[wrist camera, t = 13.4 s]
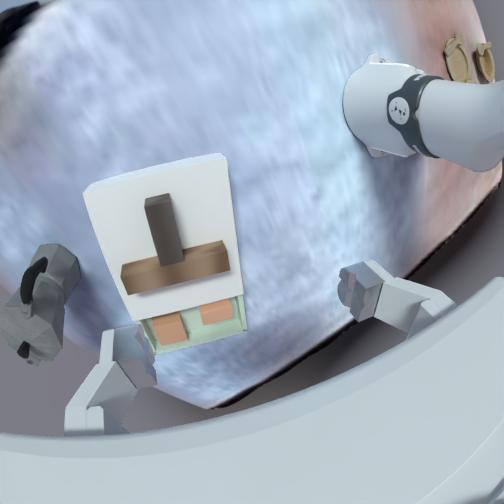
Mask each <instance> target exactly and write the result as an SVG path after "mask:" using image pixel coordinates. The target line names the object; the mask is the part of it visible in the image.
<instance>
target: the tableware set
mask: <svg viewBox="0 0 504 504" xmlns="http://www.w3.org/2000/svg"><path fill="white" fill-rule="evenodd" d="M463 42H464V39H462V35H461V33H460V32H458V33H457V34H456V35H455V38H451V39H449V40H448V41H447V44H446V48H445V49H444V53H445V57H446V64H447V68H448V71H449V73H450V76H451V78H452V80H453V81H456V82H464V83H474V84H476V82H475V81H474V80H471V77H472V67H471V62H470V58H469V55H468V52H467V50H466V48H465V47H464V45H463V44H462V43H463ZM491 47H492V45H491V42H487V43H485V44H484V43H481V44H480V43H478V44H477V51H476V63H477V66H478V69H479V71H480V72H481V73H482V74H483V76H484V78H485V79H486V80H487V81H488V82H492V81H493V79H494V76H495V66H494V60H493V57H492V54H491V52H490V50H489V48H491Z"/></svg>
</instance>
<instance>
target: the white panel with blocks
mask: <svg viewBox="0 0 504 504" xmlns="http://www.w3.org/2000/svg"><path fill="white" fill-rule="evenodd" d="M166 193H169V195H170V199H171V204H172V209H173V213H174V218H175V222H176V226H177V231H178V235H179V239H180V243H181V247H182V249H186V248H190V247H194V246H199V245H203V244H207V243H211V242H215V241H220V240H222V241H223V243H224V245H225V247H226V249H227V252H228V258H229V264H230V271H226V272H222V273H218V274H214V275H210V276H206V277H202V278H198V279H194V280H190V281H186V282H182V283H178V284H174V285H169V286H165V287H161V288H157V289H153V290H149V291H145V292H141V293H137V294H132V295H128V294H127V292H126V290H125V287H124V285H123V283H122V280H121V278H120V276H121V269H122V264H126V263H130V262H134V261H138V260H142V259H146V258H150V257H154V256H158V255H157V252H156V249H155V245H154V242H153V239H152V235H151V231H150V228H149V224H148V221H147V217H146V213H145V209H144V204H145V199H146V198H150V197H154V196H158V195H162V194H166ZM83 197H84V200H85V203H86V206H87V210H88V213H89V216H90V219H91V222H92V225H93V228H94V231H95V233H96V236H97V239H98V242H99V244H100V247H101V250H102V252H103V255H104V257H105V260H106V262H107V265H108V267H109V270H110V272H111V275H112V277H113V279H114V282H115V284H116V286H117V288H118V291H119V293H120V295H121V297H122V299H123V302H124V304H125V306H126V308H127V310H128V312H129V314H130V316H131V318H132V320H133V321H138V320H142V319H146V318H151V317H155V316H159V315H164V314H168V313H172V312H176V311H180V310H184V309H188V308H192V307H196V306H200V305H204V304H208V303H212V302H216V301H219V300H223V299H227V298H231V297H235V296H238V295H242V294H244V292H243V285H242V277H241V270H240V262H239V255H238V247H237V239H236V231H235V224H234V216H233V208H232V199H231V191H230V183H229V175H228V166H227V158H225V157H224V156H223V155H222V154H220V153H213V154H208V155H202V156H197V157H192V158H187V159H182V160H178V161H173V162H169V163H164V164H160V165H156V166H152V167H147V168H143V169H140V170H136V171H132V172H128V173H125V174H121V175H117V176H114V177H110V178H107V179H104V180H100V181H97V182H94V183H91V184H90V185H89V186H88V188H87V189H86V190H85V191H84V193H83Z"/></svg>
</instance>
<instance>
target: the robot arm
mask: <svg viewBox="0 0 504 504" xmlns="http://www.w3.org/2000/svg"><path fill="white" fill-rule="evenodd" d="M343 108H344V114H345V118H346V121H347V123H348V125H349V127H350V129H351V131H352V132H353V133H354V135H355V136H356V137H357V138H358V139H360V140H361V141H362V142H363V143H364V144H365V145H366V147H367V149H368V151H369V153H370V155H371V156H372V157H375V158H379V157H383V156H386V155H389V154H395V155H398V156H402V157H408V155H413V154H415V153H417V152H418V153H420V154H422V155H424V156H427V157H432V158H443V159H446V160H448V161H451V162H453V163H455V164H458V165H460V166H463V167H465V168H467V169H469V170H472V171H474V172H486V171H489V170H492V169H493V168H495V167H496V166H497V165H498V164H499V163H500V161H501V160H502V158H503V157H504V79H503V80H501V81H499V82H495V83H491V84H474V83H464V82H456V81H448V80H444V79H443V78H441V77H438V76H434V75H430V74H426V73H425V72H424V71H422V70H419V69H415V67H413V66H409V65H407V64H398V63H394V62H392V61H390V60H388V59H386V58H384V57H382V56H380V55H377V54H370V55H369V56H368V58H367V60H366V61H365V63H364V65H363V66H362V67H360V68H359V69H357V70H356V71H355V72H354V73H353V74H352V75H351V76H350V78H349V79H348V81H347V83H346V86H345V89H344V95H343ZM339 277H340V278H341V281H340V283H339V284H338V296H339V299H340V301H341V302H342V303H343V305H345V306H347V307H350V313H351V314H352V315H353V316H354V317H355V319H356V320H357V321H358V322H359V321H362V320H364V319H367V318H369V317H372V316H374V317H376V318H378V319H380V320H382V321H384V322H386V323H388V324H390V325H392V326H394V327H396V328H399V329H400V330H403V331H405V332H407V333H409V334H408V336H407V338H406V340H405V341H403V342H402V343H400V344H398V345H396V346H395V347H393V348H391V349H389V350H388V351H386V352H384V353H382V354H380V355H378V356H376V357H374V358H373V359H371V360H369V361H367V362H365V363H363V364H361V365H359V366H356V367H355V368H352V369H350V370H348V371H346V372H344V373H342V374H339V375H338V376H335V377H333V378H330V379H328V380H326V381H324V382H321V383H319V384H317V385H314V386H311V387H309V388H307V389H304V390H302V391H299V392H296V393H294V394H291V395H288V396H285V397H283V398H280V399H277V400H274V401H271V402H268V403H265V404H262V405H259V406H256V407H252V408H249V409H246V410H242V411H239V412H235V413H232V414H228V415H225V416H221V417H217V418H213V419H209V420H204V421H200V422H195V423H190V424H186V425H181V426H175V427H170V428H164V429H158V430H151V431H144V432H137V433H130V432H128V431H127V430H126V429H125V428H124V427H122V424H123V421H124V419H125V417H126V414H127V412H128V410H129V408H130V405H131V403H132V401H133V399H134V396H135V394H136V392H137V389H139V388H144V387H148V386H154V385H157V378H156V370H155V369H154V367H153V363H154V362H155V359H154V353H153V349H152V346H151V343H150V341H149V339H148V338H147V337H145V336H144V329H143V327H142V325H141V324H134V325H129V326H124V327H119V328H115V329H110V330H104V331H103V333H102V340H101V350H100V362H99V364H96V365H95V367H94V368H93V369H92V371H91V372H90V374H89V375H88V376H87V378H86V379H85V381H84V382H83V383H82V385H81V386H80V388H79V389H78V391H77V392H76V394H75V395H74V397H73V398H72V399H71V401H70V402H69V404H68V405H67V407H66V413H65V431H64V437H53V436H52V437H51V436H33V435H21V434H12V433H5V432H0V504H504V278H502V277H495V278H493V279H492V280H491V281H490V282H489V283H487V284H486V285H485V286H483V287H482V288H481V289H480V290H479V291H477V292H476V293H475V294H474V295H472V296H471V297H469V298H468V299H467V300H466V301H464V302H463V303H461V304H460V305H459V306H457V305H456V304H455V303H454V302H453V301H452V300H451V299H450V298H449V297H447V296H446V295H445V294H444V293H443V292H442V291H440V290H436V289H434V288H431V287H427V286H424V285H420V284H417V283H414V282H411V281H408V280H405V279H401V278H398V277H396V278H394V277H393V276H391V275H390V274H389V273H388V272H387V271H386V270H385V269H383V268H382V267H381V266H380V265H379V264H378V263H376V262H375V261H374V260H372V259H368V260H365V261H362V262H360V263H357V264H354V265H351V266H348V267H345V268H342V269H341V271H340V274H339Z"/></svg>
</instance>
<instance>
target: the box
mask: <svg viewBox="0 0 504 504" xmlns="http://www.w3.org/2000/svg"><path fill="white" fill-rule="evenodd" d="M228 299H229V301H230V304H231V306H232V312H233V317H234V318H230V319H227V320H223V321H219V322H215V323H211V324H208V325H204V326H203V323H202V320H201V316H200V313H199V309H198V306H196V307H192V308H188V309H184V310H180V311H179V312H180V315H181V318H182V321H183V324H184V326H185V329H186V333H187V338H188V340H185V341H181V342H176V343H172V344H168V345H163V346H161V344H160V342H159V340H158V338H157V336H156V334H155V332H154V330H153V328H152V317H151V318H146V319H142V320H138V321H135V322H136V324H141V325H142V327H143V329H144V336H145V337H147V338H148V339H149V341H150V343H151V346H152V349H153V353H154V355H157V354H162V353H166V352H171V351H175V350H179V349H183V348H188V347H192V346H196V345H200V344H204V343H208V342H211V341H215V340H219V339H223V338H226V337H230V336H233V335H237V334H241V333H244V332H247V331H248V329H247V322H246V315H245V308H244V301H243V294H242V295H238V296H235V297H231V298H228Z"/></svg>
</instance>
